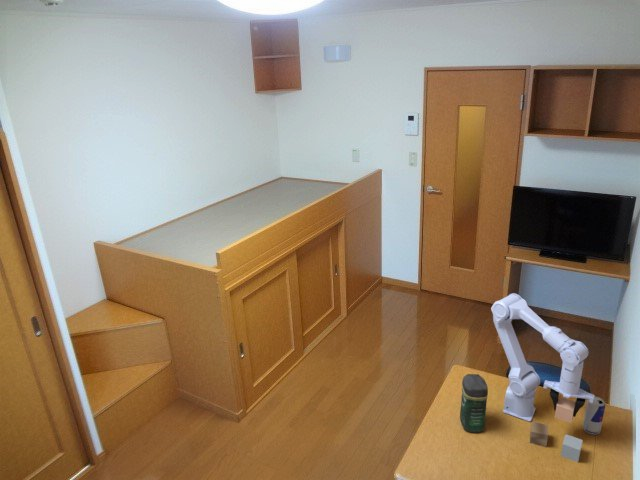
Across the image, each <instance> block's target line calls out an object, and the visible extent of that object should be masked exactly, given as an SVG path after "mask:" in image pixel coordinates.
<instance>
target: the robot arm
mask: <svg viewBox="0 0 640 480" xmlns="http://www.w3.org/2000/svg"><path fill="white" fill-rule="evenodd" d="M490 310H491V312H492V321H493V325H494V327H495V329H496V332H497V334H498V337H499V340H500V342H501V345H502V348H503V350H504V353H505V355H506V358H507V360H508V364H509V366H510V371H509V372H508V373H509V374H508V379H509V385H508V386H507V388H506V391H505V396H504V401H503V402H504V403H503V404H504V405H503V410H502V412H503V413H504V414H507V415H509V416H512V417H516V418H519V419H521V420H523V421H527V422H532V420H533V418H534V415H535V411H536V410H537V409H536V407H535V406H534V404H535V397H536V389H537V387H539V386H540V385H541V378H540V376H539V374H538V373H537V372H536V371H535V368H534V367H533V366H532V365H531V364H528V363H527V361H526V358H525V355H524V353H523V350H522V348H521V344H520V342H519V339H518V337H517V334H516V332H515V329H514V326H513V324H512V321H513V320H522V321H524V322H525V323H527V324H528V325H529V326H531V327H532V328H534V329H535V330H536V331H537V332H539V333H540V334H541V336H542V339H543V341H544V342H546V343H547V344H548V345H549V346H550V347H551V348H553V349H554V350H555V351H556V352H557V353H559V355H560V358H561V361H562V364H561V371H560V378H559V381H551V380H544V383H543V389H546V390H547V389H549V390H550V391H549V396H550V398H551V401H552V404H553V410H554V411H555V412H556V406H557V402H558V400H559V397H560V395H562V398H566V399H571V398H576V399H575V402H576V403H575V410H574V413H573V418H576V416H577V414H578V412H579V411H580V410H581V409H582V408H583V407H584V406H585V403H586V401H587V400H588V401H589V402H590V403H593V400H594V396H595V394H593V393H590V392H588V391H586V390H584V389H582V388H580V385H581V379H582V374H583V368H584V360H585V359H587V357H588V356H589V354H590V353H589V349H588V347H587V346H586V345H585V343H583V342H582V341H578V340H575V339H572V338H570V337H569V336H568V335H567V334H565V332H563V330H562V329H561V328H559V327H557V326H550V325H549V324H548V323H547V322H545V321H544V320H543V319H542V318H541V317H540V316H539V315H538V314H537V313H536V312H534V310H532V309H531V308H530V307H529V306H528V303H527V301H526V299H524V298H522V296H521V295H520V294H517V293H509V295H506V296H505V297H503V298H502V299H499V300H496V301H495V302H494V303H493V304H492V306H491V308H490Z"/></svg>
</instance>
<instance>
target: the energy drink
mask: <svg viewBox="0 0 640 480" xmlns="http://www.w3.org/2000/svg"><path fill="white" fill-rule="evenodd" d="M605 410H606V402H605V400H604V399H603V398H601V397H599V396H595V395H594V400H593V403H590V402H589V401H588V400H586V406H585V411H584V417H583V420H582V421H583V422H582V429H583V430H584V432H586V433H587V434H589V435H594V436H595V435H599V434H600V433H601V431H602V425H603V419H604V414H605Z"/></svg>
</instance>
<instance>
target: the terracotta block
mask: <svg viewBox="0 0 640 480" xmlns="http://www.w3.org/2000/svg"><path fill="white" fill-rule="evenodd" d="M575 403H576V400H572V399H570V398H566V397H563V396H559V398H558V402H557V406H556V411H555V414H554V419H558V420H561V421H563V422H564V421H565V422H567V423H570V424H572V423H573V419H574V417H573V413H574V410H575Z"/></svg>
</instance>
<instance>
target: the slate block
mask: <svg viewBox="0 0 640 480" xmlns="http://www.w3.org/2000/svg"><path fill="white" fill-rule="evenodd" d="M582 447H583V439H581V438H577V437H575V436H573V435H570V434H565V435H564V439H563V442H562V448H561V452H560V457H562V458H565V459H567V460H570V461H573V462H576V463H579V460H580V455H581V453H582V452H581V450H582Z"/></svg>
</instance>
